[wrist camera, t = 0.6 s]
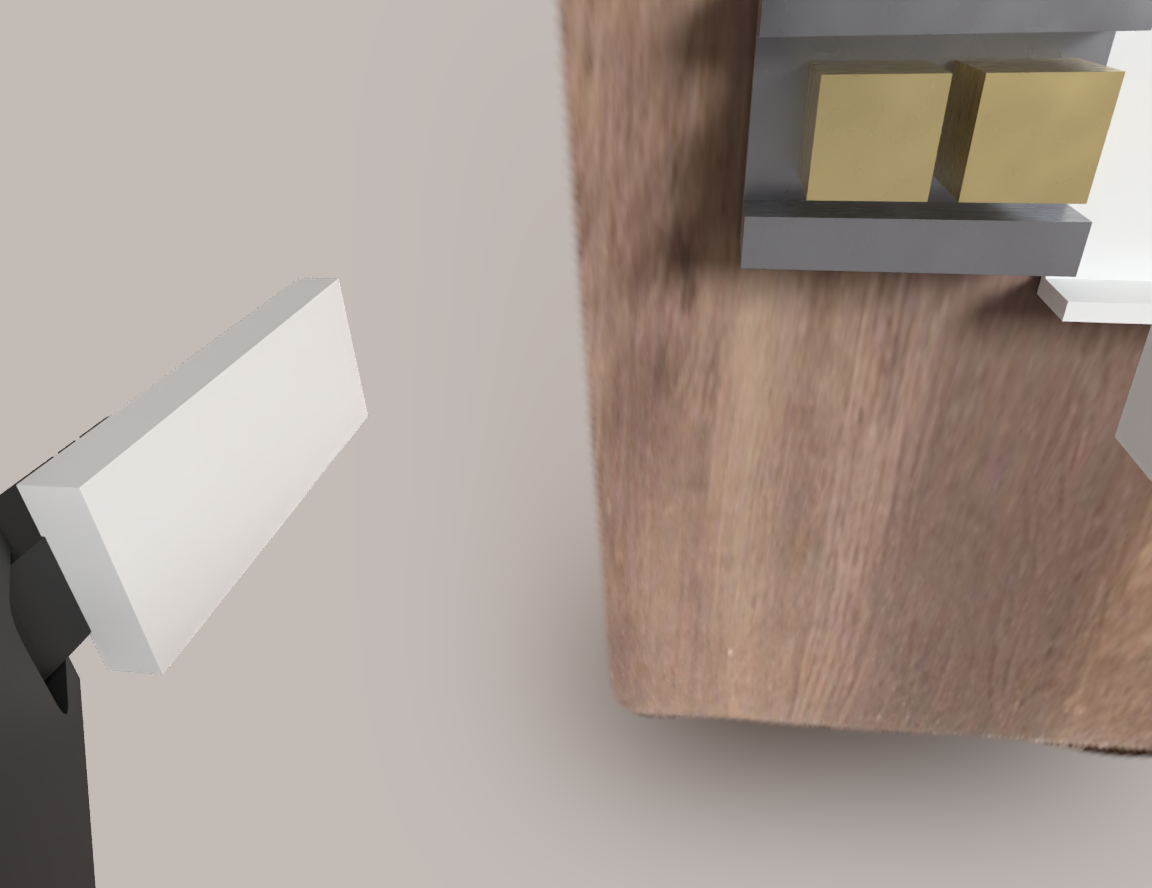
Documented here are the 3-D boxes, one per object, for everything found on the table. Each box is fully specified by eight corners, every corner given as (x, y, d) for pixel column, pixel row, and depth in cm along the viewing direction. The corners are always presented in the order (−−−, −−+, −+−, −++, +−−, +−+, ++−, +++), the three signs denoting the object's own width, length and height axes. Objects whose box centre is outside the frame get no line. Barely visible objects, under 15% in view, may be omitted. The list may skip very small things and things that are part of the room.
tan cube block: (810, 61, 29) (821, 74, 26) (926, 59, 29) (952, 73, 25) (797, 174, 31) (806, 200, 28) (905, 175, 31) (927, 201, 27)
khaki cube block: (955, 59, 28) (986, 72, 25) (1077, 57, 28) (1125, 71, 24) (932, 175, 30) (958, 202, 27) (1045, 176, 30) (1086, 203, 26)
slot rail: (760, -33, 29) (765, -33, 26) (1122, -45, 27) (1173, -45, 24) (739, 240, 34) (740, 268, 31) (1042, 246, 32) (1075, 276, 29)
